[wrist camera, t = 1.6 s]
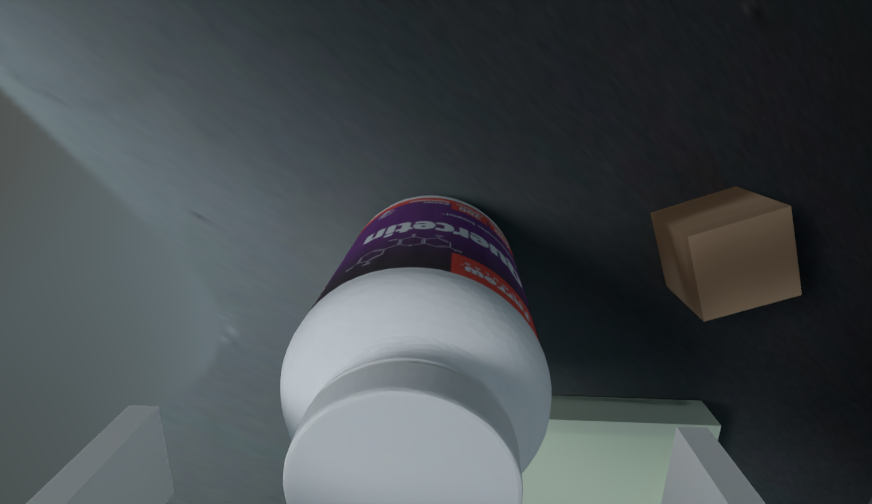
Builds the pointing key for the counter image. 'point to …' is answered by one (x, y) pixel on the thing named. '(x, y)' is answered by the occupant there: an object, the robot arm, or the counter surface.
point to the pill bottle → (417, 368)
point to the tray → (609, 449)
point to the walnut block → (728, 252)
